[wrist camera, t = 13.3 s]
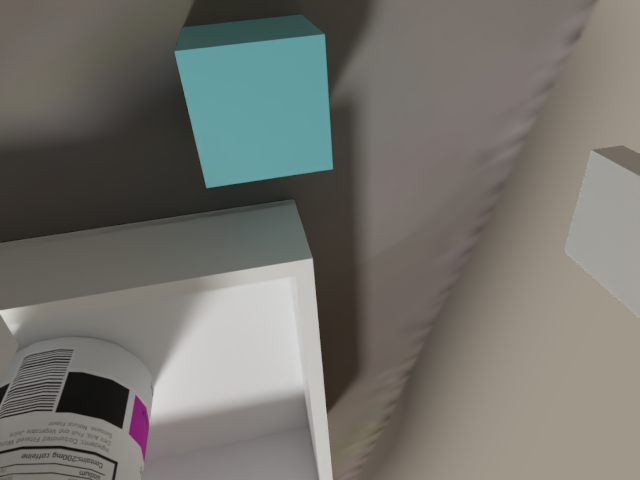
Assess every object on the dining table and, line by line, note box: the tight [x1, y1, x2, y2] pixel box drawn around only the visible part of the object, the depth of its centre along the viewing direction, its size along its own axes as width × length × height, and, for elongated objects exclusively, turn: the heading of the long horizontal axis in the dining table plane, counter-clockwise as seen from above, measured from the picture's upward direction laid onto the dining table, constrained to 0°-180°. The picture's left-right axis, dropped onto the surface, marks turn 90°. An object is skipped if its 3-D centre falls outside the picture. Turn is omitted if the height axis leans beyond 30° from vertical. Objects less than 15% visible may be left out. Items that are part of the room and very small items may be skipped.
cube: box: [174, 14, 333, 188], centre depth 19 cm, size 5×5×5 cm
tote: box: [0, 199, 333, 480], centre depth 26 cm, size 20×20×6 cm
